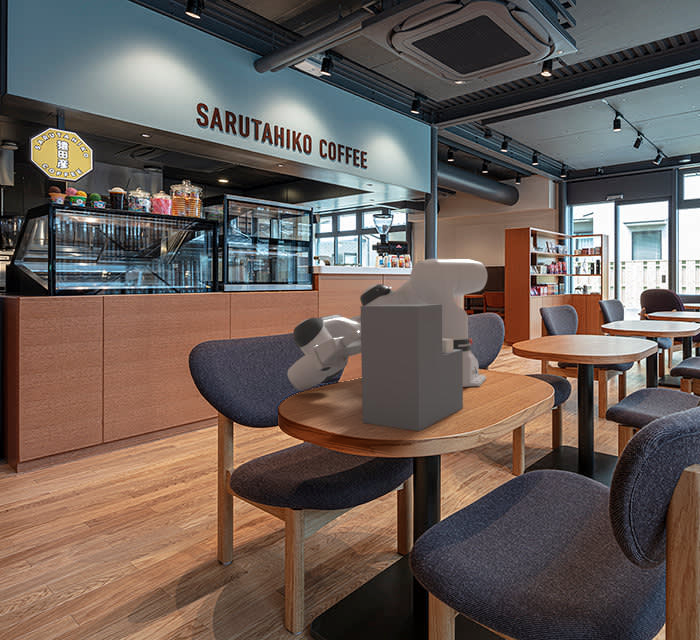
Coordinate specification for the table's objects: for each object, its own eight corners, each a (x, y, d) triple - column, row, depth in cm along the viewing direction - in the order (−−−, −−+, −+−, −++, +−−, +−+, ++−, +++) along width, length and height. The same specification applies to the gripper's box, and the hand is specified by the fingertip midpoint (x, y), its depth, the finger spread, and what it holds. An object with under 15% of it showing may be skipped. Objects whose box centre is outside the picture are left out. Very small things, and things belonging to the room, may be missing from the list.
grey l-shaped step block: (412, 402, 133) (410, 303, 131) (462, 408, 125) (462, 302, 124) (362, 422, 113) (360, 306, 112) (419, 431, 105) (417, 306, 104)
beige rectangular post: (378, 347, 133) (377, 335, 133) (453, 351, 121) (453, 338, 121) (370, 348, 130) (369, 337, 130) (446, 353, 118) (446, 340, 118)
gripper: (358, 361, 147) (394, 339, 139) (314, 371, 130) (352, 347, 123) (348, 342, 148) (383, 319, 141) (304, 349, 131) (341, 324, 124)
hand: (369, 332), depth 132 cm, fingers open, 8 cm apart
